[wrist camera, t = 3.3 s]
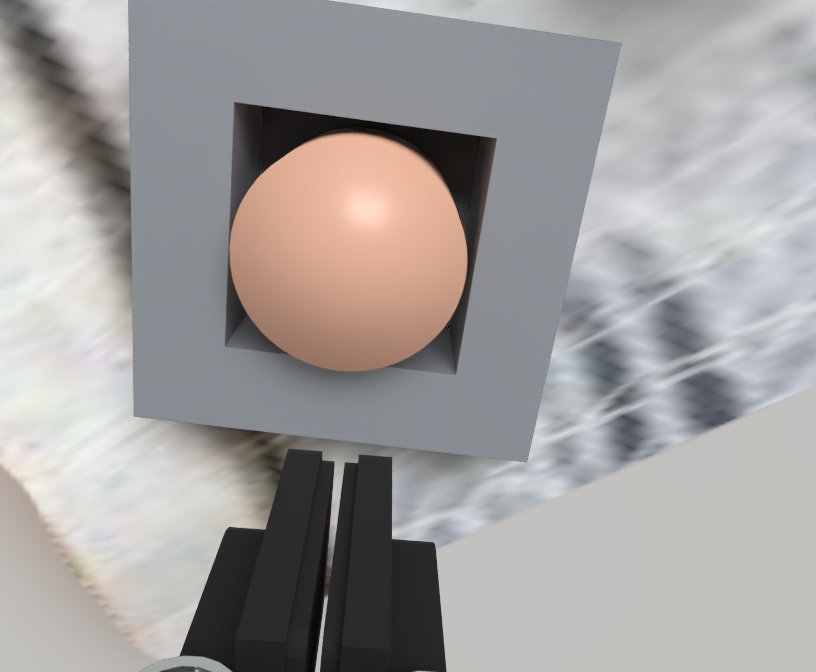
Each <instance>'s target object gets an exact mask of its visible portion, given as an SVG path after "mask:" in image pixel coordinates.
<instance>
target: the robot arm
mask: <svg viewBox="0 0 816 672" xmlns="http://www.w3.org/2000/svg"><path fill="white" fill-rule="evenodd" d="M333 477H334V462H333V461H322V452H321V451H309V450H296V449H288V452H287V455H286V459H285V462H284V466H283V469H282V473H281V477H280V480H279V484H278V487H277V491H276V494H275V498H274V502H273V505H272V509H271V512H270V516H269V519H268V523H267V527H266V530H261V529H248V528H235V527H229V528H228V529H227V530H226V532H225V534H224V536H223V539H222V542H221V544H220V547H219V550H218V553H217V555H216V558H215V561H214V563H213V566H212V569H211V572H210V574H209V577H208V580H207V583H206V585H205V588H204V591H203V593H202V596H201V599H200V602H199V604H198V607H197V610H196V613H195V615H194V618H193V621H192V623H191V626H190V629H189V632H188V634H187V637H186V640H185V643H184V645H183V648H182V651H181V654H180V656H179V657H175V658H169V659H164V660H162V661H159V662H157V663H155V664H152V665H150V666H148V667H145V668H144V669H143V670H141V671H140V672H315V667H316V660H317V652H318V644H319V636H320V629H321V622H322V613H323V604H324V594H325V581H326V568H327V555H328V542H329V529H330V516H331V503H332V490H333ZM320 672H446V662H445V650H444V639H443V627H442V616H441V604H440V593H439V581H438V570H437V559H436V549H435V544H434V542H422V541H408V540H395V539H392V457H382V456H370V455H359V461H358V463H346V462H345V467H344V475H343V483H342V491H341V499H340V507H339V515H338V523H337V531H336V539H335V547H334V555H333V563H332V571H331V579H330V587H329V595H328V603H327V611H326V619H325V627H324V636H323V646H322V655H321V667H320Z"/></svg>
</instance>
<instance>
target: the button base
mask: <svg viewBox="0 0 816 672" xmlns="http://www.w3.org/2000/svg"><path fill="white" fill-rule="evenodd" d="M128 20H129V93H130V166H131V239H132V312H133V386H134V416H135V417H143V418H152V419H160V420H169V421H177V422H186V423H194V424H203V425H211V426H220V427H228V428H237V429H246V430H254V431H263V432H271V433H280V434H288V435H297V436H305V437H314V438H322V439H331V440H340V441H348V442H357V443H365V444H374V445H382V446H391V447H399V448H408V449H416V450H425V451H433V452H442V453H451V454H459V455H468V456H476V457H485V458H493V459H502V460H510V461H519V462H527V460H528V456H529V451H530V447H531V442H532V438H533V433H534V429H535V424H536V420H537V416H538V411H539V407H540V402H541V398H542V393H543V389H544V385H545V380H546V376H547V371H548V367H549V362H550V358H551V353H552V349H553V345H554V340H555V336H556V331H557V327H558V322H559V318H560V314H561V309H562V305H563V300H564V296H565V291H566V287H567V282H568V278H569V274H570V269H571V265H572V260H573V256H574V251H575V247H576V243H577V238H578V234H579V229H580V225H581V220H582V216H583V211H584V207H585V203H586V198H587V194H588V189H589V185H590V180H591V176H592V172H593V167H594V163H595V158H596V154H597V149H598V145H599V140H600V136H601V132H602V127H603V123H604V118H605V114H606V109H607V105H608V101H609V96H610V92H611V87H612V83H613V78H614V74H615V69H616V65H617V61H618V56H619V52H620V47H621V43H617V42H610V41H604V40H597V39H590V38H583V37H576V36H569V35H562V34H555V33H549V32H542V31H535V30H528V29H521V28H514V27H507V26H501V25H494V24H487V23H480V22H473V21H466V20H459V19H452V18H446V17H439V16H432V15H425V14H418V13H411V12H404V11H397V10H391V9H384V8H377V7H370V6H363V5H356V4H349V3H343V2H336V1H329V0H128ZM263 106H266V107H273V108H281V109H288V110H295V111H302V112H310V113H317V114H324V115H331V116H339V117H346V118H353V119H360V120H368V121H375V122H382V123H389V124H397V125H404V126H411V127H418V128H425V129H433V130H440V131H447V132H454V133H462V134H469V135H476V136H481V140H480V147H479V153H478V159H477V165H476V171H475V177H474V183H473V189H472V195H471V201H470V207H469V213H468V219H467V225H466V231H465V240H466V246H467V272H466V280H465V284H464V288H463V292H462V295H461V298H460V300H459V303H458V305H457V307H456V309H455V311H454V313H453V315H452V317H451V323H450V329H449V330H447V329H442V331H441V332H440V333H439V334H438V335H437V336H436V337H435V338H434V339H433V340H432V341H431V342H430V343H429V344H427V345H426V346H425V347H424V348H422V349H421V350H420V351H418V352H417V353H415V354H413V355H412V356H410V357H408V358H406V359H404V360H402V361H400V362H398V363H395V364H392V365H389V366H386V367H383V368H379V369H373V370H368V371H337V370H331V369H326V368H321V367H318V366H315V365H312V364H308V363H306V362H304V361H302V360H299V359H297V358H295V357H293V356H292V355H290V354H288V353H287V352H285V351H283V350H282V349H280V348H279V347H278V346H277V345H275V344H274V343H273V342H271V341H270V340H269V339H268V338H267V337H266V336H265V335H264V334H263V333H262V332H261V331H260V330H259V329H258V327H257V326H256V325H255V324H254V322H253V321H252V320H251V319H250V317H249V315H248V314H247V312H246V310H245V309H244V307H243V305H242V303H241V301H240V299H239V296H238V294H237V292H236V288H235V285H234V282H233V278H232V273H231V267H230V250H229V247H230V238H231V231H232V227H233V223H234V219H235V216H236V214H237V211H238V209H239V206H240V204H241V202H242V200H243V198H244V197H245V195H246V193H247V192H248V190H249V189H250V187H251V186H252V185H253V184H254V182H255V181H256V180H257V178H258V177H259V173H260V154H261V135H262V116H263Z"/></svg>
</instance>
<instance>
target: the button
mask: <svg viewBox="0 0 816 672" xmlns="http://www.w3.org/2000/svg"><path fill="white" fill-rule="evenodd" d="M229 250H230V267H231V273H232V278H233V282H234V285H235V288H236V292H237V294H238V296H239V299H240V301H241V303H242V305H243V307H244V309H245V310H246V312H247V314H248V315H249V317H250V319H251V320H252V321H253V322H254V324H255V325H256V326H257V327H258V329H259V330H260V331H261V332H262V333H263V334H264V335H265V336H266V337H267V338H268V339H269V340H270V341H271V342H273V343H274V344H275V345H277V346H278V347H279V348H280V349H282V350H283V351H285V352H287V353H288V354H290V355H292V356H293V357H295V358H297V359H299V360H302V361H304V362H306V363H308V364H312V365H315V366H318V367H321V368H326V369H331V370H337V371H368V370H373V369H379V368H383V367H386V366H389V365H392V364H395V363H398V362H400V361H402V360H404V359H406V358H408V357H410V356H412V355H413V354H415V353H417V352H418V351H420V350H421V349H422V348H424V347H425V346H426V345H427V344H429V343H430V342H431V341H432V340H433V339H434V338H435V337H436V336H437V335H438V334H439V333H440V332H441V331H442V329H443V328H444V327H445V325H446V324H447V323H448V321H449V320H450V318H451V317H452V315H453V313H454V311H455V309H456V307H457V305H458V303H459V300H460V298H461V295H462V292H463V288H464V284H465V280H466V272H467V246H466V240H465V235H464V231H463V227H462V224H461V221H460V218H459V215H458V212H457V209H456V206H455V203H454V200H453V196H452V193H451V191H450V189H449V187H448V185H447V182H446V180H445V179H444V177H443V176H442V174H441V172H440V171H439V169H438V168H437V167H436V166H435V165H434V163H433V162H432V161H431V160H430V159H429V158H428V157H427V156H426V155H425V154H424V153H423V152H422V151H421V150H419V149H418V148H417V147H415V146H414V145H412V144H411V143H409V142H408V141H406V140H404V139H402V138H400V137H398V136H396V135H393V134H390V133H387V132H384V131H380V130H376V129H371V128H358V127H354V128H342V129H337V130H332V131H328V132H325V133H323V134H320V135H317V136H315V137H313V138H311V139H309V140H307V141H305V142H304V143H302V144H301V145H300V146H298V147H297V148H295V149H294V150H292V151H291V152H290V153H288V154H287V155H285V156H284V157H282V158H281V159H280V160H278V161H277V162H275V163H274V164H273V165H271V166H270V167H269V168H268V169H267V170H266V171H265V172H264V173H262V174H261V175H260V176H259V177H258V178H257V180H256V181H255V182H254V184H253V185H252V186H251V187H250V189H249V190H248V192H247V193H246V195H245V197H244V198H243V200H242V202H241V204H240V206H239V209H238V211H237V214H236V216H235V219H234V223H233V227H232V231H231V238H230V247H229Z"/></svg>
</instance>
